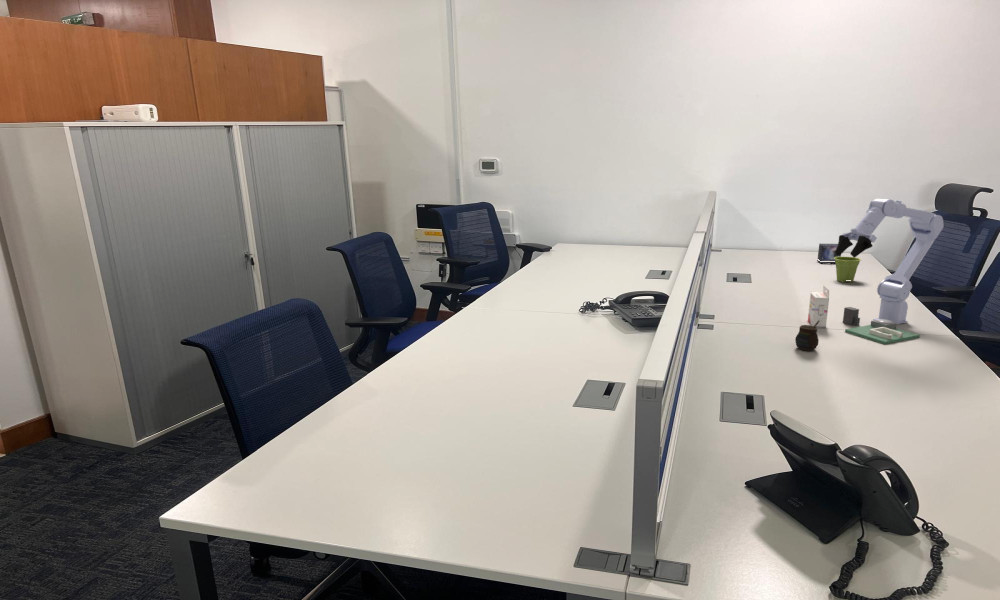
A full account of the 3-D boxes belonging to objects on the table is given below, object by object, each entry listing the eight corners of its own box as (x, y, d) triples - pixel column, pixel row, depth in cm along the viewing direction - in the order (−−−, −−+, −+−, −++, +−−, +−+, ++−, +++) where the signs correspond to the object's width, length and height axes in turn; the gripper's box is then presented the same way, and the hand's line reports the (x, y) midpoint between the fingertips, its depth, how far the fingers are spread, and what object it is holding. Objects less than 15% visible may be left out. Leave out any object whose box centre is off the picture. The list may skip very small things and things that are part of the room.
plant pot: (859, 279, 321) (862, 257, 318) (857, 284, 312) (860, 261, 309) (832, 277, 328) (835, 255, 325) (830, 281, 318) (832, 259, 315)
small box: (820, 263, 359) (822, 245, 357) (816, 261, 366) (818, 243, 363) (840, 264, 358) (842, 245, 355) (836, 261, 364) (838, 243, 361)
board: (878, 325, 248) (880, 317, 247) (919, 337, 233) (920, 328, 233) (844, 331, 241) (845, 323, 240) (884, 344, 227) (885, 335, 226)
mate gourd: (789, 347, 225) (792, 319, 223) (805, 344, 228) (808, 317, 226) (806, 353, 219) (809, 325, 216) (822, 350, 222) (826, 322, 219)
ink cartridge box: (806, 320, 256) (810, 284, 252) (820, 321, 255) (824, 284, 251) (812, 326, 248) (816, 289, 244) (826, 327, 247) (830, 290, 243)
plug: (848, 321, 254) (850, 306, 252) (860, 325, 249) (862, 310, 247) (842, 322, 253) (844, 307, 251) (855, 326, 248) (857, 311, 246)
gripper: (845, 218, 242) (823, 246, 242) (876, 219, 228) (853, 249, 228) (856, 230, 244) (835, 258, 244) (888, 232, 230) (865, 261, 230)
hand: (844, 255), depth 236 cm, fingers open, 7 cm apart
